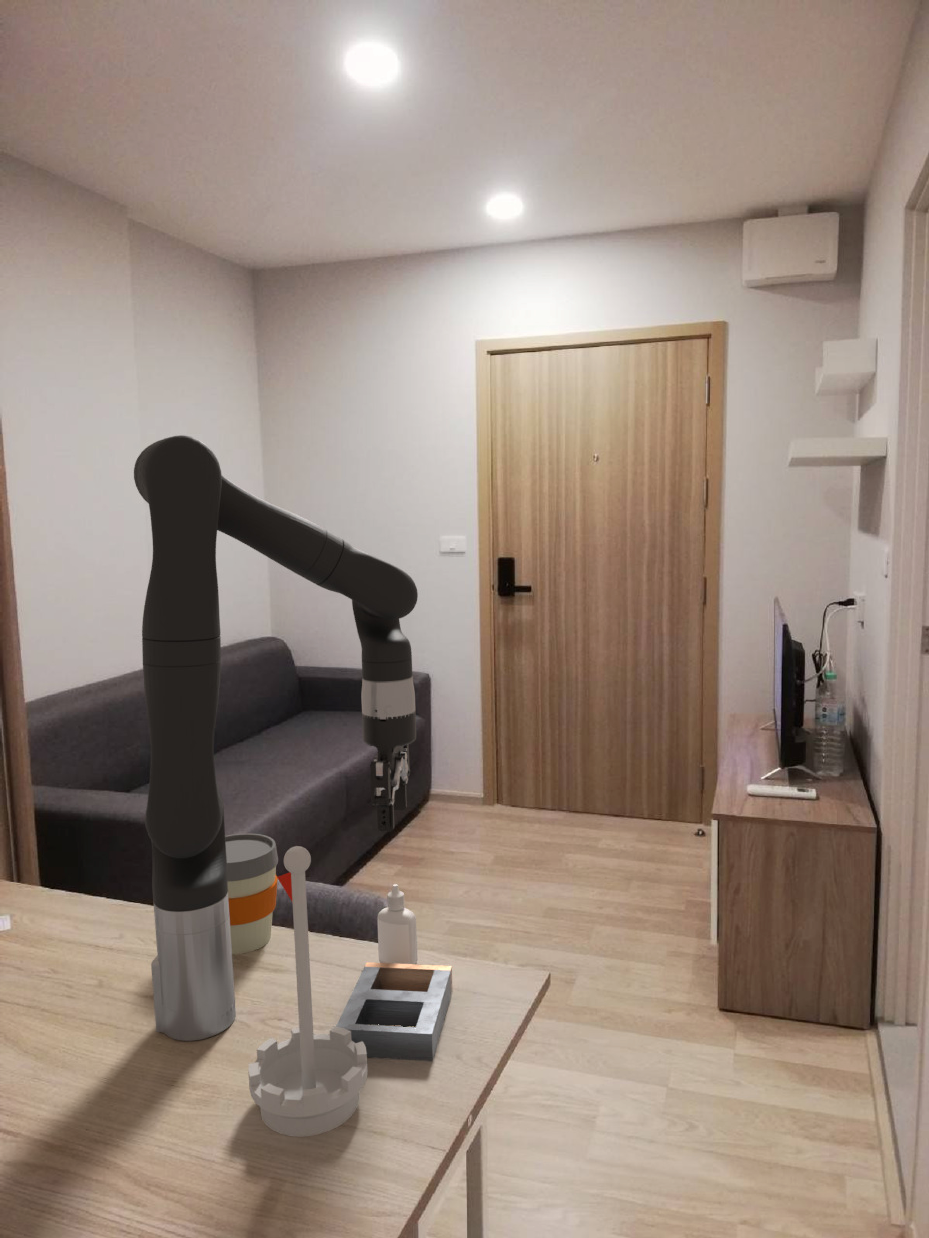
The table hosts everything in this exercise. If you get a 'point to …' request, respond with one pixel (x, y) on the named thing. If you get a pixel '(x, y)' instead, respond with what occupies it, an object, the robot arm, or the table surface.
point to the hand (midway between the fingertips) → (392, 819)
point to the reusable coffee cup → (251, 889)
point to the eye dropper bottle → (397, 931)
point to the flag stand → (306, 1046)
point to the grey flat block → (398, 1009)
